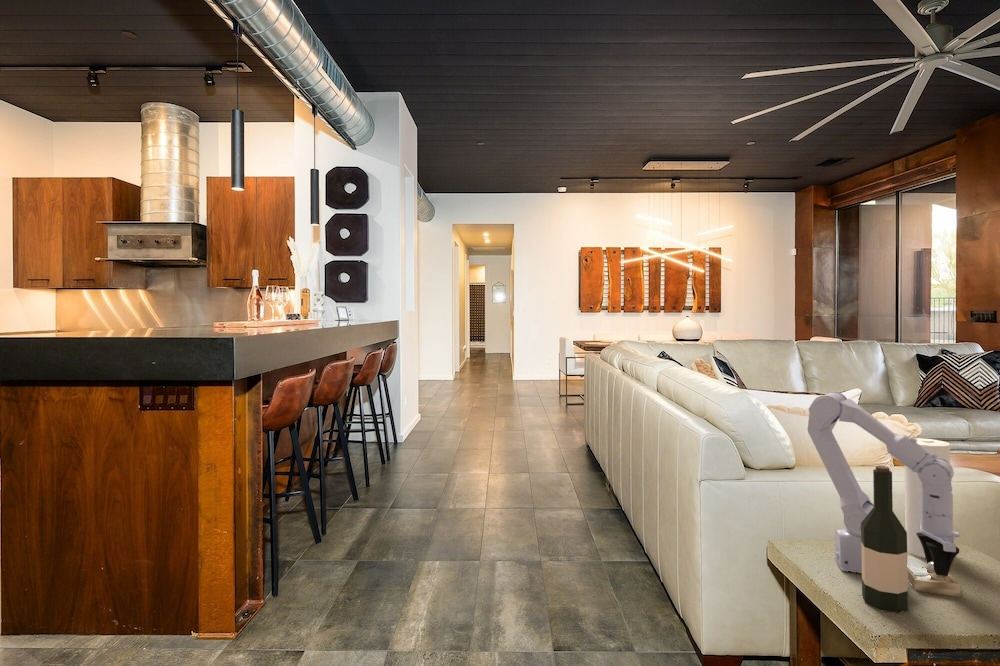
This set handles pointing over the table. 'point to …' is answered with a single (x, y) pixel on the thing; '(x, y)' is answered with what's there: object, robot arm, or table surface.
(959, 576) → the table surface
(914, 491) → the paper towel roll
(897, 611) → the wine bottle
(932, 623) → the table surface
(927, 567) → the ball
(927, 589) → the tray
